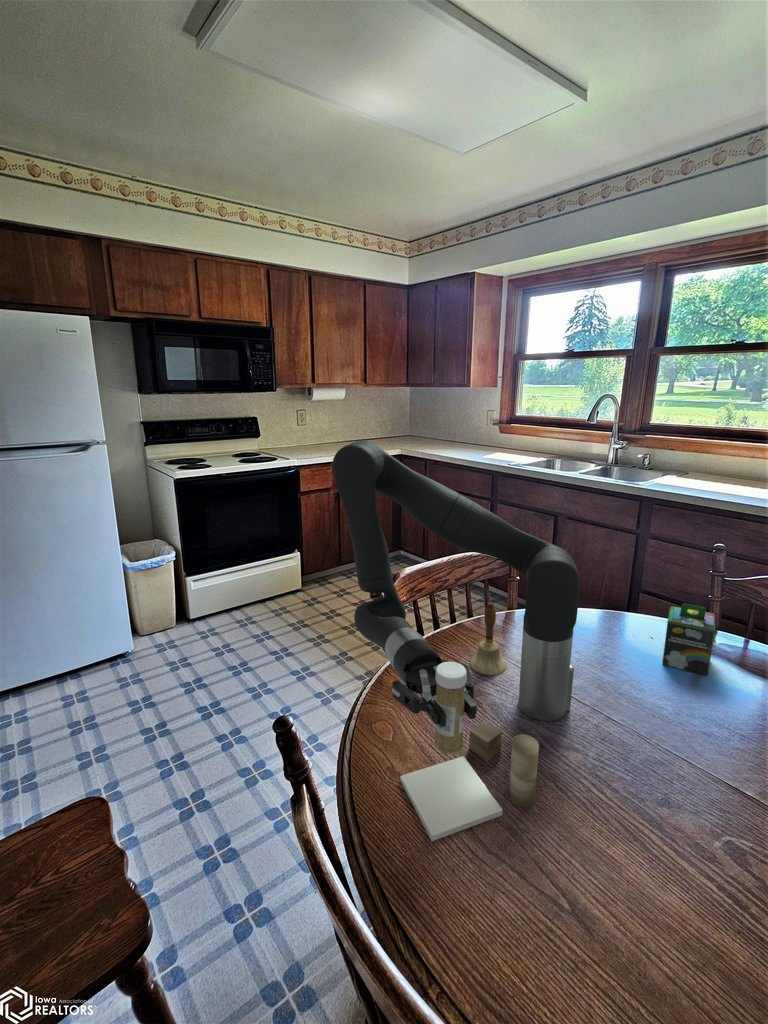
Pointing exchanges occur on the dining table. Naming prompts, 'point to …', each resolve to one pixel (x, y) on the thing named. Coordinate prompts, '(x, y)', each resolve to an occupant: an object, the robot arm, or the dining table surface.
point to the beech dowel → (523, 769)
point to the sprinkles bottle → (450, 706)
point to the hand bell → (488, 648)
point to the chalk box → (689, 638)
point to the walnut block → (485, 740)
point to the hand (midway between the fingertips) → (458, 717)
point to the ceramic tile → (449, 797)
